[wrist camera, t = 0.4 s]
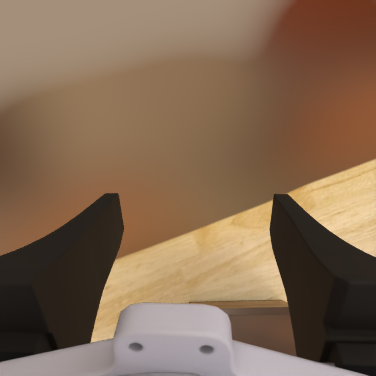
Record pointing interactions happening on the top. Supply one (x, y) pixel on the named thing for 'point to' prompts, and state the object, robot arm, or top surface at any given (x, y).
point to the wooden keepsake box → (260, 323)
